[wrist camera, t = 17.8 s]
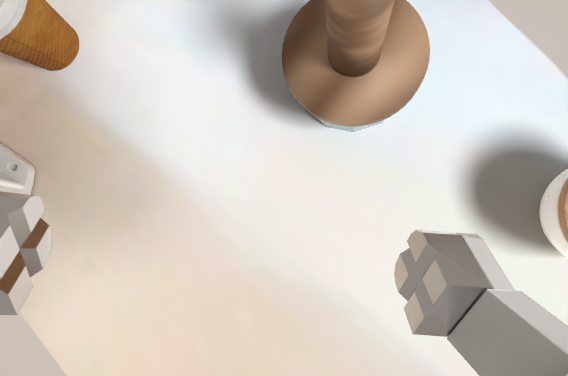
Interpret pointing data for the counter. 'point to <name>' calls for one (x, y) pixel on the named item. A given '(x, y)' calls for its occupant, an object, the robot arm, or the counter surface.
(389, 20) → the lid
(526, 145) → the counter surface
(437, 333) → the robot arm
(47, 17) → the disposable coffee cup
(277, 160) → the counter surface
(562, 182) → the lidded jar
